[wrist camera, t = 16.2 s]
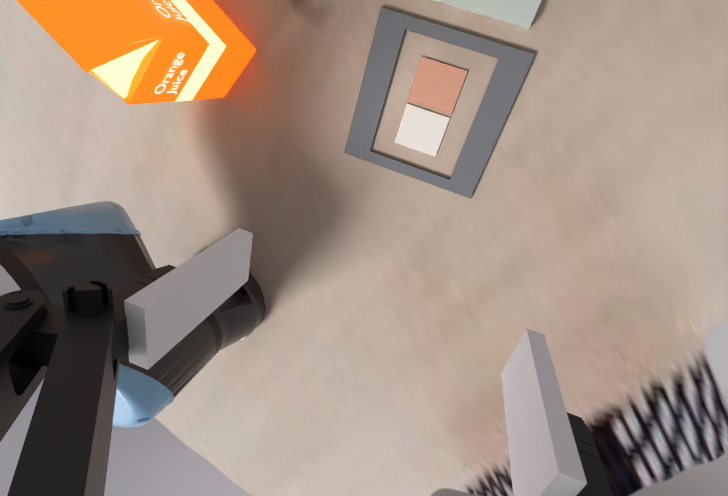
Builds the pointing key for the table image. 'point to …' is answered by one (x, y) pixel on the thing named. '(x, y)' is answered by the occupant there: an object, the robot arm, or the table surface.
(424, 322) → the table surface
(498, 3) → the pad
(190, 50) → the orange juice
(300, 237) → the table surface
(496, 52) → the tile
